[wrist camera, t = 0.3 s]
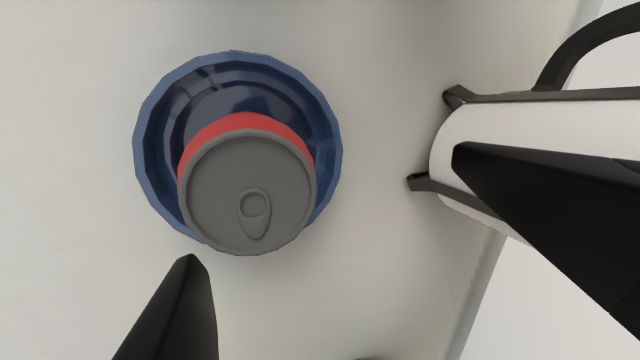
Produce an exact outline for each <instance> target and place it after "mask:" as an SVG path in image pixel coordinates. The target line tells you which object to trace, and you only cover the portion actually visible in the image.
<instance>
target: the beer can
mask: <svg viewBox="0 0 640 360" xmlns="http://www.w3.org/2000/svg"><path fill="white" fill-rule="evenodd" d="M316 181H317V180H316V175H315V169H314V163H313V158H312V156H311V154H310V153H309V151H308V149H307V147H306V145H305V143H304V141H303V140H302V139H301V138H300V137H299V136H298V135H297V134H296V133H295V132H294V131H293V130H291V129H290V128H289V127H288V126H286V125H284V124H282V123H280V122H278V121H276V120H274V119H272V118H270V117H268V116H265V115H262V114H260V113H255V112H248V111H243V112H237V113H231V114H229V115H227V116H225V117H222V118H220V119H219V120H217V121H215V122H213V123H211V124H209V125H207V126H206V127H204V128H202V129H201V130H200V131H199V132H198V133H197V134H196V135H195V136H194V138H193V139H192V140H191V141H190V142H189V143H188V144H187V145H186V147H185V150H184V152H183V155H182V157H181V160H180V162H179V165H178V181H177V193H178V205H179V207H180V210H181V213H182V215H183V218H184V221H185V223H186V225H187V226H188V227H189V228H190V230H191V231H192V232H193V233H194V234H195V235H196V237H197V238H198V239H199V240H200V241H202V242H203V243H205V244H207V245H208V246H210V247H212V248H213V249H215V250H217V251H220V252H224V253H228V254H231V255H235V256H258V255H261V254H265V253H268V252H272V251H275V250H278V249H279V248H281V247H283V246H284V245H286V244H287V243H289V242H291V241H292V240H294V239H295V238H296V237H297V235H298V234H299V233H300V232H301V231H302V230H303V229H304V228H305V227H306V226H307V224H308V222H309V220H310V218H311V216H312V214H313V211H314V209H315V204H316V198H317V191H318V190H317V184H316Z"/></svg>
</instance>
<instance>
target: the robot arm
mask: <svg viewBox="0 0 640 360" xmlns="http://www.w3.org/2000/svg"><path fill="white" fill-rule="evenodd" d="M451 168H452V170H453V171H454V173H455V174H456V175H457V176H458V177H459V178H460V179H461V180H462V181H463V182H464V183H465V184H466V185H467V186H468V188H469V189H470V190H471V191H472V192H473V193H474V194H475V195H476V196H477V197H478V198H479V199H480V200H481V201H482V202H483V203H484V204H485V205H486V206H487V207H488V208H489V209H491V210H492V211H493V212H494V213H495V214H496V215H497V216H499V217H500V218H501V219H502V220H503V221H504V222H505V223H507V224H508V225H509V226H510V227H511V228H512V229H513V230H514V231H516V232H517V233H518V234H519V235H520V236H521V237H522V238H524V239H525V240H526V241H527V242H528V243H529V244H530V245H532V246H533V247H534V248H535V249H536V250H537V251H538V252H540V253H541V254H542V255H543V256H544V257H545V258H546V259H547V260H549V261H550V262H551V263H552V264H553V265H554V266H556V267H557V268H558V269H559V270H560V271H561V272H562V273H563V274H565V275H566V276H567V277H568V278H569V279H570V280H571V281H572V282H574V283H575V284H576V285H577V286H578V287H579V288H580V289H582V290H583V291H584V292H585V293H586V294H587V295H588V296H590V297H591V298H592V299H593V300H594V301H595V302H596V303H598V304H599V305H600V306H601V307H602V308H603V309H604V310H606V311H607V312H609V314H610V315H611V316H612V317H613V318H614V319H615V320H616V321H618V322H619V323H620V324H621V325H622V326H624V327H625V328H626V329H627V330H628V331H629V332H630V333H631V334H632V335H634V336H635V337H636V338H637V339H638V340H639V341H640V161H636V160H627V159H619V158H609V157H601V156H592V155H584V154H575V153H567V152H558V151H550V150H541V149H532V148H524V147H515V146H507V145H498V144H490V143H481V142H472V141H463V142H461V143H459V144H456V145H455V146H454V147H453V151H452V158H451ZM112 360H219V353H218V332H217V321H216V315H215V309H214V303H213V296H212V290H211V284H210V278H209V274H208V271H207V269H206V268H205V267H204V266H203V264H202V263H201V262H200V261H199V259H198V258H197V257H196V256H195V255H194V254H188V255H185V256H183V257H180V258H178V259H177V260H176V261H175V263H174V264H173V266H172V267H171V269H170V270H169V272H168V273H167V275H166V277H165V278H164V280H163V281H162V283H161V284H160V286H159V287H158V289H157V290H156V292H155V294H154V295H153V297H152V298H151V300H150V301H149V303H148V304H147V306H146V307H145V309H144V310H143V312H142V314H141V315H140V317H139V318H138V320H137V321H136V323H135V324H134V326H133V327H132V329H131V331H130V332H129V334H128V335H127V337H126V338H125V340H124V341H123V343H122V344H121V346H120V347H119V349H118V351H117V352H116V354H115V355H114V357H113V358H112Z"/></svg>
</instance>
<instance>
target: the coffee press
mask: <svg viewBox="0 0 640 360" xmlns="http://www.w3.org/2000/svg"><path fill="white" fill-rule="evenodd" d="M635 32H640V2H637V3H634V4H631V5H628V6H625V7H623V8H620V9H617V10H615V11H613V12H610V13H608V14H606V15H604V16H602V17H600V18H598V19H596V20H594V21H592V22H591V23H589V24H587V25H586V26H584V27H583V28H581V29H580V30H578V31H577V32H576V33H574V34H573V35H572V36H571V37H569V38H568V39H567V40H566V41H565V42H564V43H563V44H562V45H561V46H560V47H559V48H558V49H557V50H556V52H555V53H554V54H553V55H552V57H551V58H550V60H549V61H548V63H547V64H546V66H545V67H544V69H543V71H542V72H541V74H540V76H539V78H538V80H537V82H536V84H535V86H534V87H533V88H532V89H531V90H526V91H511V92H505V93H501V94H491V95H478V94H474V93H472V92H471V91H469V90H467V89H466V88H464V87H463V86H461V85H459V84H457V85H455V86H453V87H451V88H449V89H447V90H445V91H444V92H443V94H442V97H443V100H444V102H445V103H446V104H447V105H448V106H449V107H450V108H451V110H452V111H453V113H452V114H451V115H450V116H449V117H448V118H447V120H446V121H445V122H444V124H443V125H442V126H441V128H440V130H439V131H438V133H437V135H436V137H435V140H434V142H433V145H432V149H431V153H430V159H429V171H426V172H420V173H414V174H411V175H409V176H407V178H406V179H407V183H408V186H409V189H410V190H411V191H431V192H436V194H437V195H438V197H439V198H440V199H441V200H442V201H443V202H444V203H445V204H446V205H448V206H449V207H451V208H453V209H454V210H456V211H458V212H460V213H462V214H464V215H466V216H468V217H470V218H473V219H475V220H477V221H479V222H481V223H483V224H485V225H487V226H489V227H491V228H493V229H495V230H497V231H499V232H501V233H503V234H505V235H507V236H510V237H512V238H514V239H516V240H518V241H520V242H522V243H524V244H526V245H528V246H530V247H532V248H534V247H533V246H532V245H530V244H529V243H528V242H527V241H526V240H525V239H524V238H522V237H521V236H520V235H519V234H518V233H517V232H516V231H514V230H513V229H512V228H511V227H510V226H509V225H508V224H507V223H505V222H504V221H503V220H502V219H501V218H500V217H499V216H497V215H496V214H495V213H494V212H493V211H492V210H491V209H489V208H488V207H487V206H486V205H485V204H484V203H483V202H482V201H481V200H480V199H479V198H478V197H477V196H476V195H475V194H474V193H473V192H472V191H471V190H470V189H469V188H468V186H467V185H466V184H465V183H464V182H463V181H462V180H461V179H460V178H459V177H458V176H457V175H456V174H455V173H454V171H453V170H452V168H451V158H452V151H453V147H454V146H455V145H456V144H459V143H461V142H463V141H472V142H481V143H490V144H498V145H507V146H515V147H524V148H532V149H541V150H550V151H558V152H567V153H575V154H584V155H592V156H601V157H609V158H619V159H627V160H636V161H640V86H636V87H617V88H600V89H584V90H583V89H581V90H563V91H561V89H562V87H563V85H564V83H565V81H566V79H567V78H568V76H569V74H570V72H571V71H572V69H573V68H574V66H575V65H576V63H577V62H578V61H579V60H580V59H581V58H582V57H583V56H584V55H585V54H587V53H588V52H590V51H591V50H592V49H594V48H596V47H597V46H599V45H601V44H603V43H605V42H607V41H609V40H611V39H614V38H617V37H619V36H623V35H626V34H630V33H635ZM457 97H458V98H459V99H461V100H463V101H465V102H467V103H465V104H463V103H462V102H461V101H460V100H459V99H458V98H457Z"/></svg>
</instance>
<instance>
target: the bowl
mask: <svg viewBox="0 0 640 360" xmlns="http://www.w3.org/2000/svg"><path fill="white" fill-rule="evenodd" d="M243 111H248V112H255V113H260V114H262V115H265V116H268V117H270V118H272V119H274V120H276V121H278V122H280V123H282V124H284V125H286V126H288V127H289V128H290V129H291V130H293V131H294V132H295V133H296V134H297V135H298V136H299V137H300V138H301V139H302V140H303V141H304V143H305V145H306V147H307V149H308V151H309V153H310V154H311V156H312V158H313V163H314V169H315V175H316V180H317V181H316V184H317V190H318V191H317V198H316V204H315V209H314V211H313V214H312V216H311V218H310V220H309V222H308V224H307V226H308V225H310V224H311V223H312V222H313V221H314V220H315V219H316V218H317V216H318V215H319V214H320V213H321V212H322V210H323V209H324V208H325V207H326V205H327V204H328V203H329V201H330V199H331V197H332V195H333V192H334V190H335V188H336V185H337V183H338V180H339V178H340V172H341V163H342V154H343V147H342V141H341V136H340V131H339V126H338V121H337V119H336V117H335V115H334V114H333V112H332V110H331V108H330V106H329V104H328V102H327V100H326V99H325V97H324V95H323V94H322V92H320V91H319V90H318V89H317V88H316V87H315V86H314V85H313V84H312V83H311V82H310V81H309V80H308V79H307V78H306V77H305V76H304V75H303V74H302V73H301V72H299V70H297V69H295V68H293V67H291V66H289V65H287V64H285V63H283V62H281V61H279V60H277V59H275V58H273V57H271V56H268V55H262V54H256V53H249V52H242V51H236V50H230V51H224V52H219V53H214V54H208V55H203V56H198V57H195V58H193V59H192V60H190V61H188V62H186V63H185V64H183V65H181V66H180V67H178V68H176V69H175V70H173V71H171V72H170V73H168V74H166V75H165V77H163V78H162V79H161V80H160V82H159V83H158V84H157V86H156V87H155V88H154V89H153V91H152V92H151V93H150V95H149V96H148V97H147V99H146V100H145V101H144V102H143V104H142V106H141V109H140V112H139V116H138V119H137V123H136V126H135V130H134V133H133V137H132V139H133V140H132V146H133V155H134V165H135V173H136V177H137V179H138V181H139V183H140V185H141V187H142V189H143V191H144V193H145V195H146V197H147V199H148V201H149V203H150V205H151V206H152V207H153V208H154V209H155V210H156V211H157V212H158V213H159V214H160V215H161V216H162V217H163V218H164V219H165V220H166V221H167V222H168V223H169V224H170V225H171V226H172V227H173V228H175V229H176V230H177V231H179V232H181V233H183V234H185V235H187V236H189V237H191V238H193V239H195V240H196V241H198V242H200V243H202V244H205V243H203V242H202V241H200V240H199V239H198V238H197V237H196V235H195V234H194V233H193V232H192V231H191V230H190V228H189V227H188V226H187V225H186V223H185V221H184V218H183V215H182V213H181V210H180V207H179V205H178V193H177V181H178V165H179V162H180V160H181V157H182V155H183V152H184V150H185V147H186V145H187V144H188V143H189V142H190V141H191V140H192V139H193V138H194V136H195V135H196V134H197V133H198V132H199V131H200V130H201V129H202V128H204V127H206V126H207V125H209V124H211V123H213V122H215V121H217V120H219V119H220V118H222V117H225V116H227V115H229V114H231V113H237V112H243ZM307 226H306V227H307ZM306 227H305V228H306Z"/></svg>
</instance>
